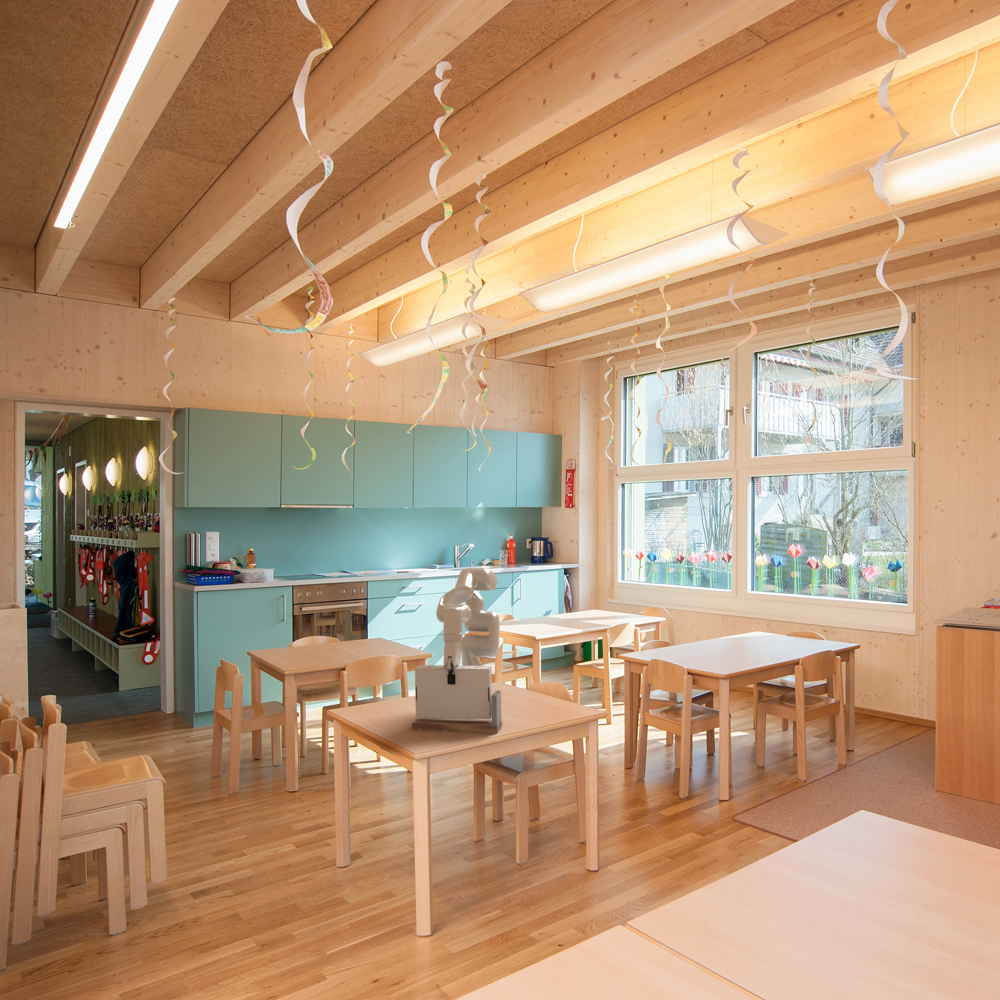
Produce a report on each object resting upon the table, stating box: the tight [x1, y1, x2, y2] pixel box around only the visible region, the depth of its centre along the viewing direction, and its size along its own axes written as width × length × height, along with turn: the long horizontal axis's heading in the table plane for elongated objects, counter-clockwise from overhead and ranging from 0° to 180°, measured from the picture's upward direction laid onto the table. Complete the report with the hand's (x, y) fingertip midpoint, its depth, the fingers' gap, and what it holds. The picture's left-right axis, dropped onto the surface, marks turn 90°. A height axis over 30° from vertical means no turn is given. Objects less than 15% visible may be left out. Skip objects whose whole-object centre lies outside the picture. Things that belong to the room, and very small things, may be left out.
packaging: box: [414, 664, 493, 720], centre depth 311 cm, size 30×6×20 cm, turn 82°
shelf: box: [411, 718, 503, 734], centre depth 309 cm, size 10×35×2 cm, turn 79°
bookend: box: [491, 690, 502, 727], centre depth 306 cm, size 9×2×12 cm, turn 169°
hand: (453, 682), depth 310 cm, fingers closed on packaging, 4 cm apart
